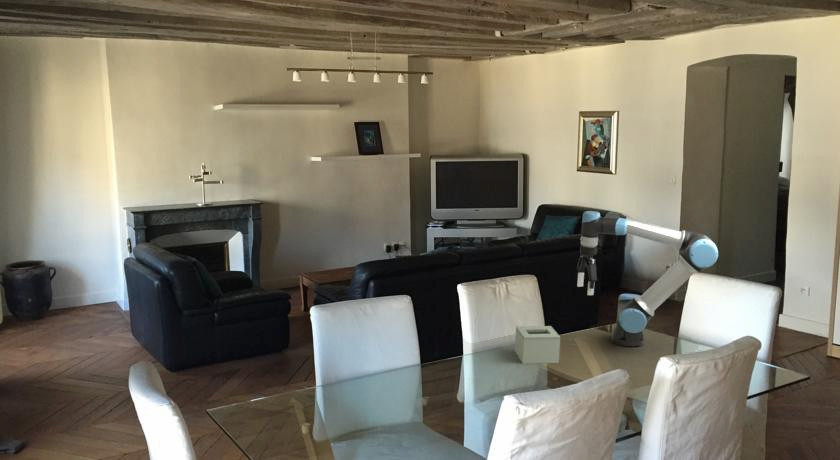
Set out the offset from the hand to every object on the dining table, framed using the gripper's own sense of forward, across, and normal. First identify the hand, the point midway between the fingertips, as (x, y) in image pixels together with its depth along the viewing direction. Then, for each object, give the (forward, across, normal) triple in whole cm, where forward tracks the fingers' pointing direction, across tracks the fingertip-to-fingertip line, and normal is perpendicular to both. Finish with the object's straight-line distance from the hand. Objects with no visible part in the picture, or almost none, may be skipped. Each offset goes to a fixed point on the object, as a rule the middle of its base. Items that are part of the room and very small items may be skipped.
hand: (585, 290), depth 330 cm
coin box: (+27, +13, -25) cm, 39 cm away
